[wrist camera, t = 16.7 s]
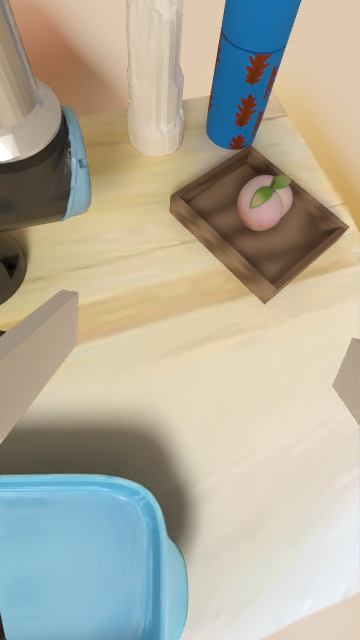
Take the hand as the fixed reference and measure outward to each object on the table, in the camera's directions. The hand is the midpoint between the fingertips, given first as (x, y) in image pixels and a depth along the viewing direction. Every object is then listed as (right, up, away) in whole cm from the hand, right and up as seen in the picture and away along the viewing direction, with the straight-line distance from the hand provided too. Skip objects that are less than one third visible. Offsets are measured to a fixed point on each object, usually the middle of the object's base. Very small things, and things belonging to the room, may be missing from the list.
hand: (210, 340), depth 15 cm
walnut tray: (+12, +18, +42) cm, 47 cm away
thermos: (+9, +41, +51) cm, 66 cm away
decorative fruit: (+12, +18, +41) cm, 47 cm away
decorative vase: (-7, +38, +49) cm, 62 cm away
